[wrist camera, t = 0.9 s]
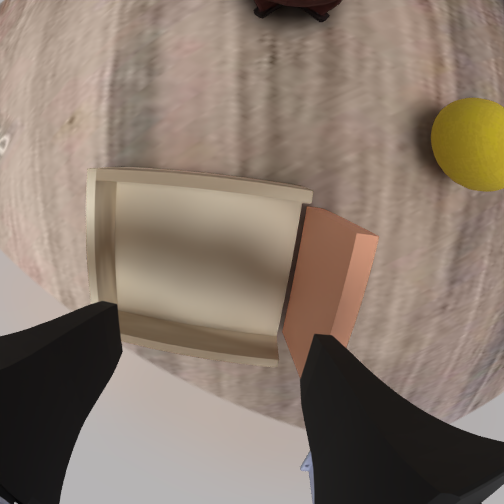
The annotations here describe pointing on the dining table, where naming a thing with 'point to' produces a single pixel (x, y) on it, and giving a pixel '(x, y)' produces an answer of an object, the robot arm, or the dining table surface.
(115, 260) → the cream shallow tray
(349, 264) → the panel
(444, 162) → the lemon
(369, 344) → the dining table surface
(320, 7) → the mate gourd
